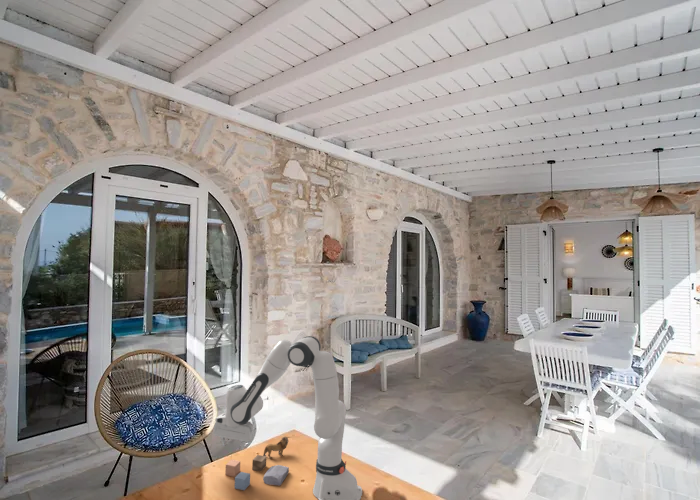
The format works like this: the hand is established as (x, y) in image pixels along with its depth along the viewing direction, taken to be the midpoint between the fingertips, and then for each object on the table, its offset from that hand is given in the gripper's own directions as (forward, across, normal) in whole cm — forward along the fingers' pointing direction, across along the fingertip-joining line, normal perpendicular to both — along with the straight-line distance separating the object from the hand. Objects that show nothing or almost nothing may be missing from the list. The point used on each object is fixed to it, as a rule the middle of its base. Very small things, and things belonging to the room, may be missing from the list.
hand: (232, 447), depth 192 cm
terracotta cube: (+13, -1, 0) cm, 13 cm away
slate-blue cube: (+12, -11, +8) cm, 18 cm away
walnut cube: (+12, -11, -8) cm, 18 cm away
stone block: (+13, -22, -3) cm, 26 cm away
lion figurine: (+12, -13, -22) cm, 28 cm away
